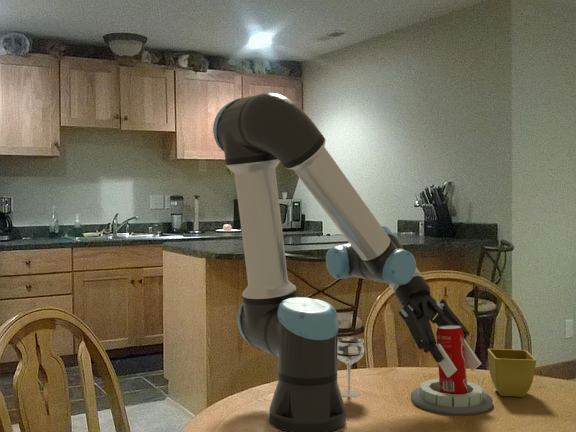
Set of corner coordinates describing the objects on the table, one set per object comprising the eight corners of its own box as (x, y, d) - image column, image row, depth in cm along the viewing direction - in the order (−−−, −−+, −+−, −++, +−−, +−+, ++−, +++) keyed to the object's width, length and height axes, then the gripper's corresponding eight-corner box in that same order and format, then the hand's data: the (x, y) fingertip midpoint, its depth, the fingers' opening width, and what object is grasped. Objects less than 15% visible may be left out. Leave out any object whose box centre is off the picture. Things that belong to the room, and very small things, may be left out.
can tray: (423, 416, 134) (423, 401, 134) (402, 389, 151) (402, 376, 151) (505, 414, 136) (505, 399, 135) (475, 388, 153) (475, 375, 152)
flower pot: (525, 388, 153) (526, 349, 152) (536, 400, 144) (537, 359, 144) (486, 387, 154) (487, 348, 153) (494, 399, 145) (495, 358, 144)
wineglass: (369, 396, 147) (370, 342, 146) (341, 399, 144) (342, 344, 144) (355, 387, 153) (355, 335, 153) (328, 390, 151) (328, 338, 150)
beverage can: (468, 400, 140) (468, 328, 140) (436, 398, 141) (436, 327, 141) (466, 392, 146) (466, 324, 146) (436, 391, 147) (435, 323, 147)
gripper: (428, 290, 161) (483, 371, 149) (367, 299, 148) (422, 388, 136) (446, 270, 156) (504, 353, 144) (385, 278, 144) (443, 369, 132)
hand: (464, 370), depth 140 cm, fingers open, 7 cm apart
